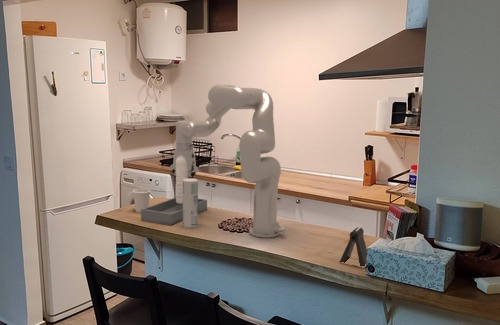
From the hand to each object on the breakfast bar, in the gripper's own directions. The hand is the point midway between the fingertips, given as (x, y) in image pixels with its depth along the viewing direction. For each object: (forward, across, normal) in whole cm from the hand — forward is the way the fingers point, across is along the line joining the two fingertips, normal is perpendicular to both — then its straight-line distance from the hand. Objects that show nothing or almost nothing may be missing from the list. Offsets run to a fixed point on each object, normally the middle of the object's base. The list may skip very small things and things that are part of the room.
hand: (184, 184), depth 208 cm
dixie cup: (+14, +18, +9) cm, 24 cm away
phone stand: (+14, -87, +27) cm, 92 cm away
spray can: (+14, -15, +18) cm, 27 cm away
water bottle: (+9, 0, 0) cm, 9 cm away
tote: (+13, 0, +7) cm, 15 cm away
